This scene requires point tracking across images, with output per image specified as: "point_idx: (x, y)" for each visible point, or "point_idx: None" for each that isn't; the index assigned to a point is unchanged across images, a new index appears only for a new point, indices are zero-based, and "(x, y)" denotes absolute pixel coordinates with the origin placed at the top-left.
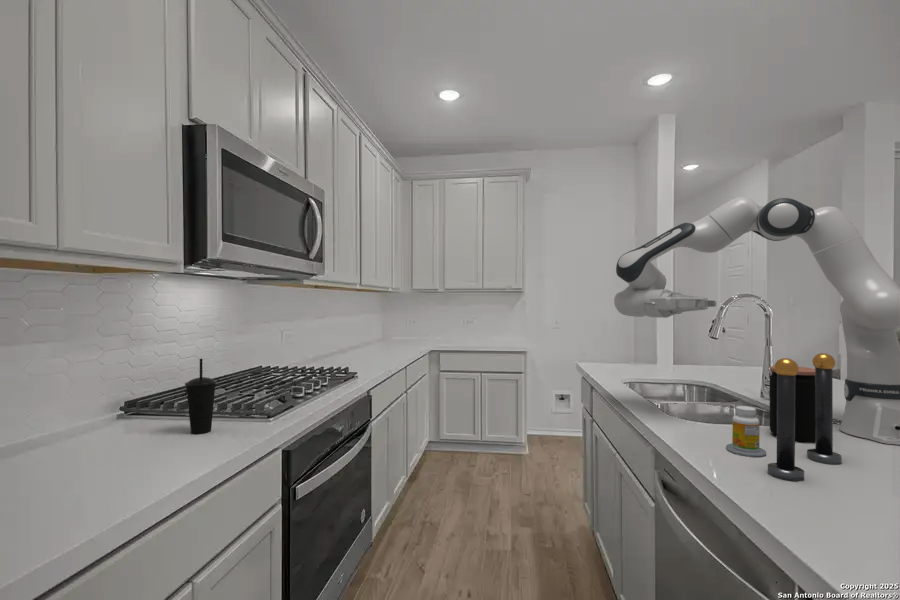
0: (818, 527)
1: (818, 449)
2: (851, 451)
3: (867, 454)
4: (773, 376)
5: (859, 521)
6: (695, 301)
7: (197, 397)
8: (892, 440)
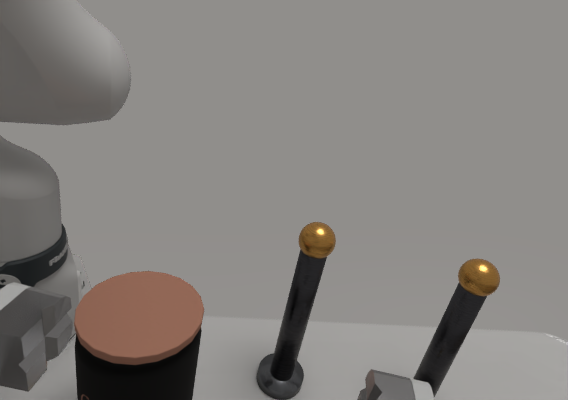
0: (519, 368)
1: (292, 372)
2: None
3: None
4: (170, 365)
5: (465, 345)
6: (402, 378)
7: None
8: None
